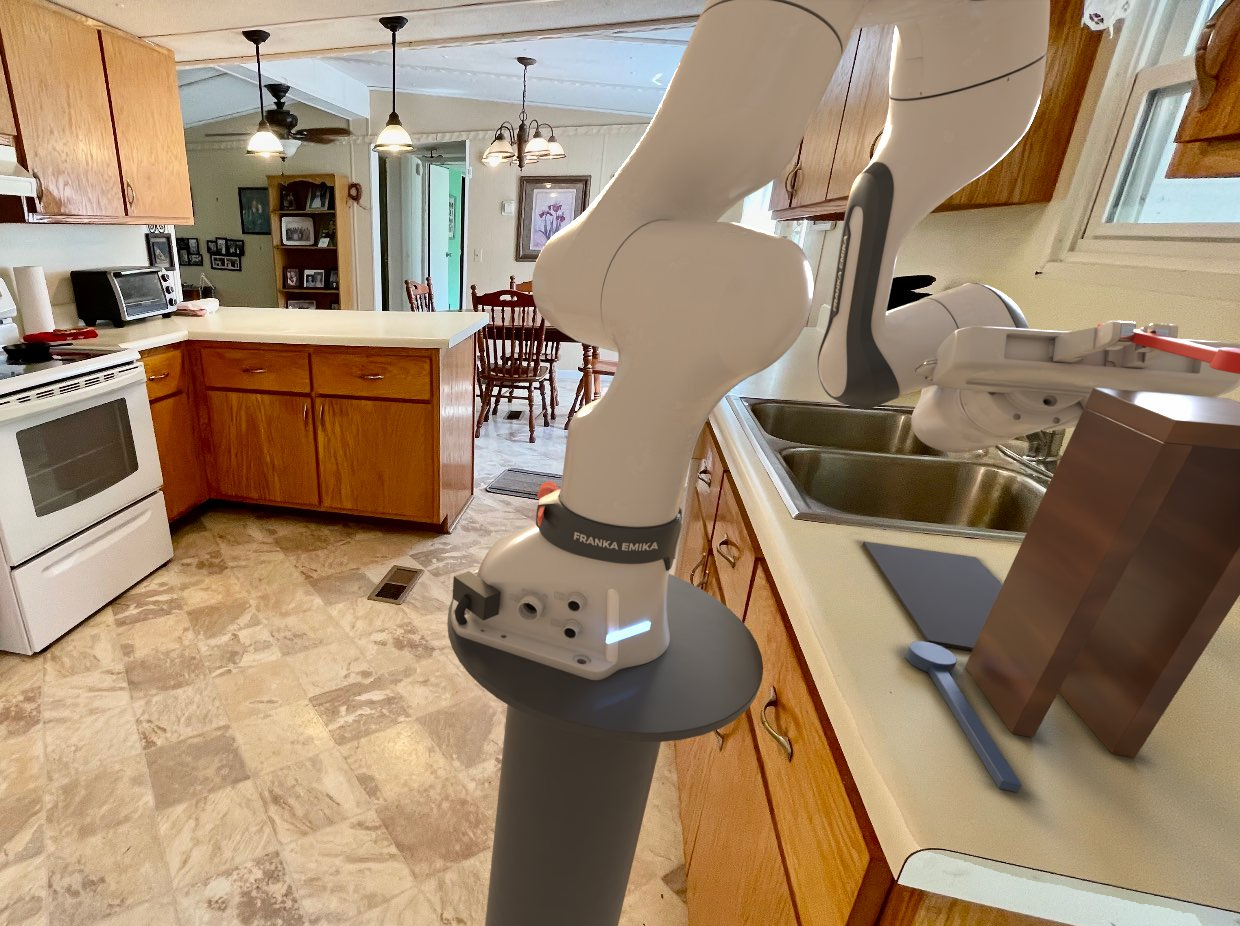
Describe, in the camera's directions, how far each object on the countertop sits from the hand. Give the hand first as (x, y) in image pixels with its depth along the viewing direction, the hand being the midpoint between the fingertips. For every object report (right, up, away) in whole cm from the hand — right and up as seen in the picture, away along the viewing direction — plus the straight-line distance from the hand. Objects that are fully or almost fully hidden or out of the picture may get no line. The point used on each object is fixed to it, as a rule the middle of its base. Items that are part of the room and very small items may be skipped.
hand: (1145, 331), depth 51 cm
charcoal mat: (+2, -23, +21) cm, 31 cm away
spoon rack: (-3, -30, +5) cm, 31 cm away
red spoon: (-1, -2, -3) cm, 4 cm away
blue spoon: (-11, -31, +4) cm, 33 cm away
